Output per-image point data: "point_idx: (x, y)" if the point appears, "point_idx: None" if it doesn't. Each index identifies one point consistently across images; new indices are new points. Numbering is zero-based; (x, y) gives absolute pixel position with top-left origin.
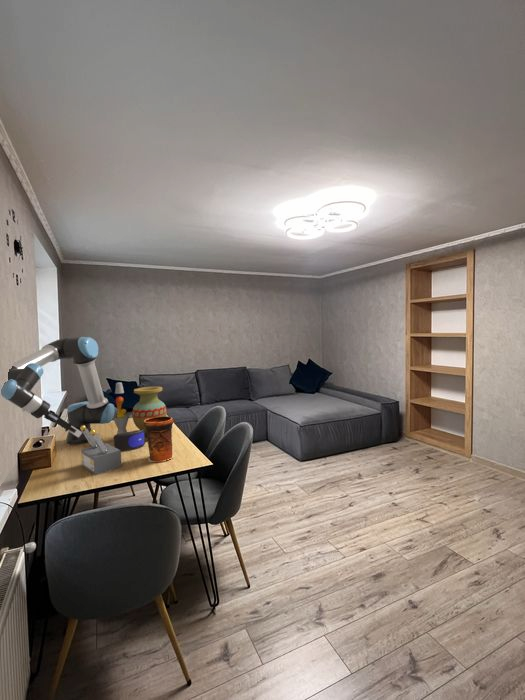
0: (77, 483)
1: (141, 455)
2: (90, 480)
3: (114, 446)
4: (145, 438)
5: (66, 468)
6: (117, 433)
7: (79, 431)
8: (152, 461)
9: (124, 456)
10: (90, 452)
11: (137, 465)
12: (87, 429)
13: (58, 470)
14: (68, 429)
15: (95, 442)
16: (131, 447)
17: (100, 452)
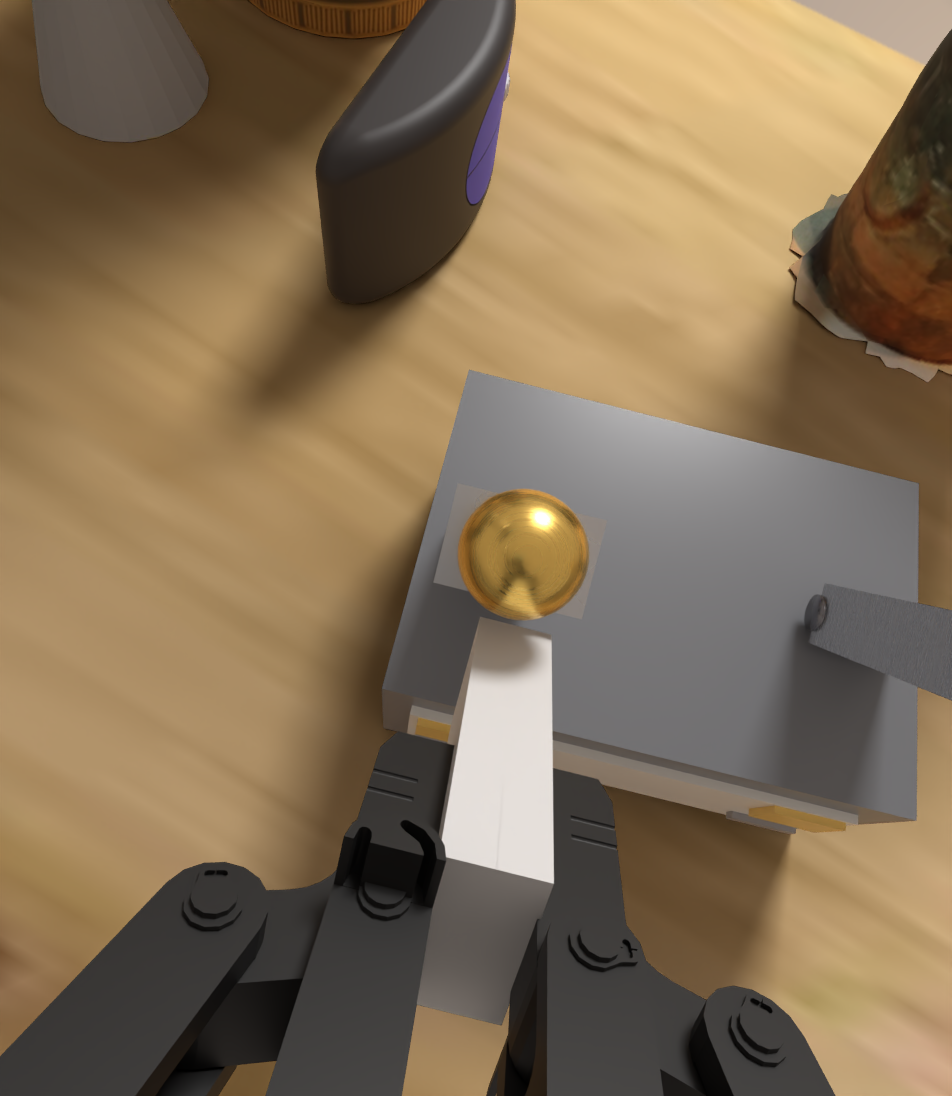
0: (857, 1090)
1: (695, 295)
2: (894, 953)
3: (342, 272)
4: (381, 6)
5: (267, 870)
6: (67, 18)
7: (547, 689)
8: (937, 367)
9: (566, 365)
10: (647, 704)
11: (905, 477)
12: (605, 526)
13: None
14: (512, 981)
15: (909, 682)
16: (474, 208)
17: (777, 644)
